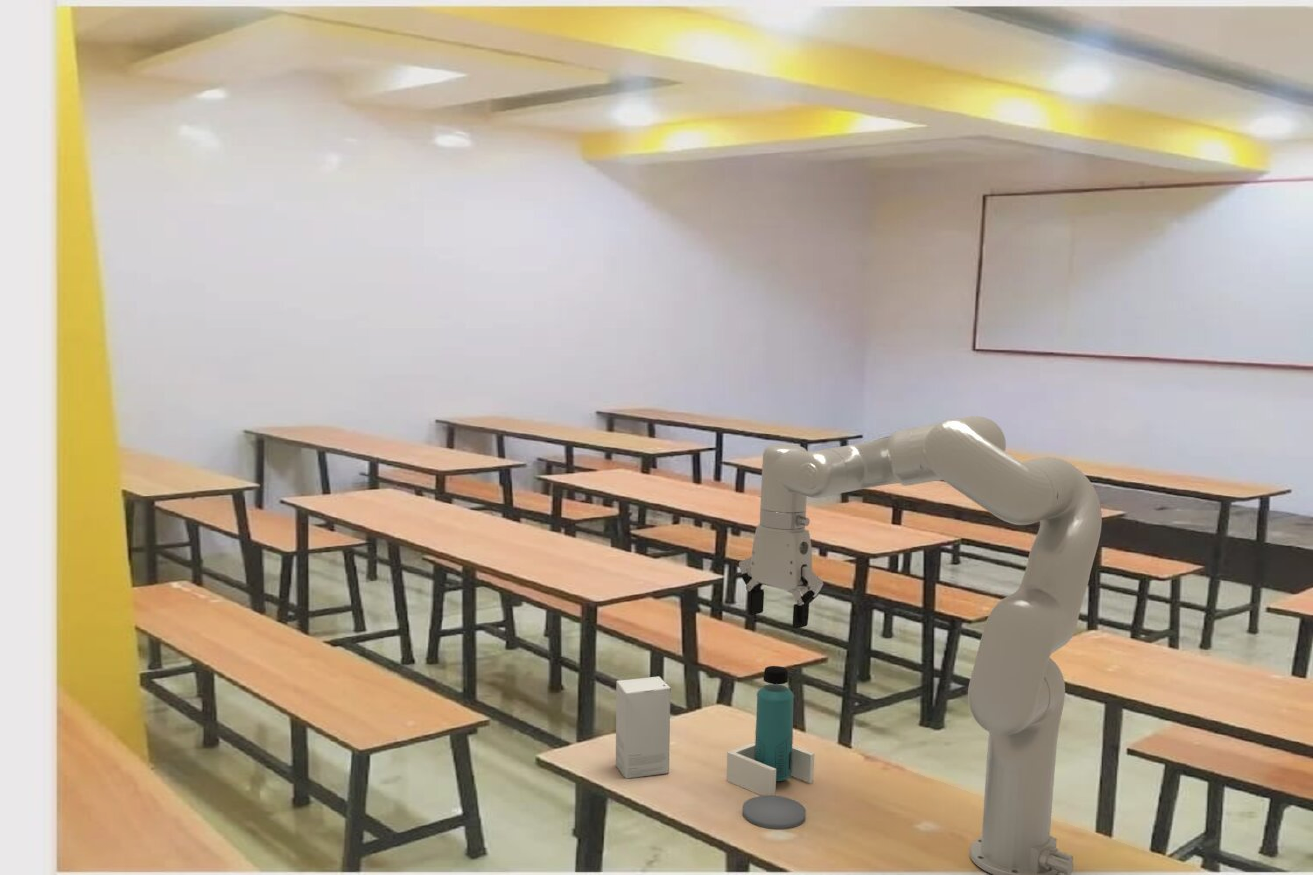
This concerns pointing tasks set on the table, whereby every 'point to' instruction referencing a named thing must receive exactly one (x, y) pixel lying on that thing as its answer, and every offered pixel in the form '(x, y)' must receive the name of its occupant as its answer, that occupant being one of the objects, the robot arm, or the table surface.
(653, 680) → the skincare box
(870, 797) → the table surface
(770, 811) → the pad
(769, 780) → the white u-shaped bracket
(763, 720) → the beverage bottle
